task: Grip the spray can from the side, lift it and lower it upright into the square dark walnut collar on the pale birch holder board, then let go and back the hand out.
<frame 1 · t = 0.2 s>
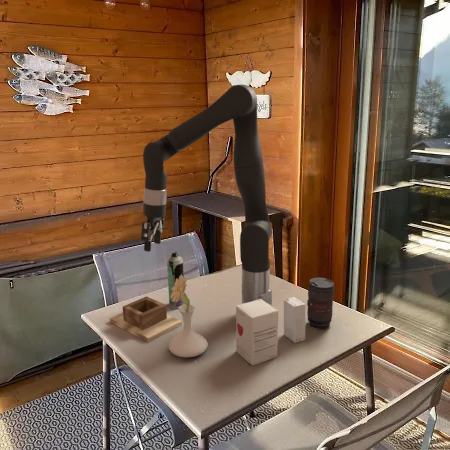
hand: (152, 247, 161), 22 cm above the table, tool pointing down, fingers open, 8 cm apart
can holder: (145, 323, 155), on the table
flower in vase: (188, 352, 138), on the table
skincare box: (293, 337, 145), on the table
spray can: (177, 305, 167), on the table
camera lens: (319, 325, 153), on the table
supplement box: (256, 354, 136), on the table
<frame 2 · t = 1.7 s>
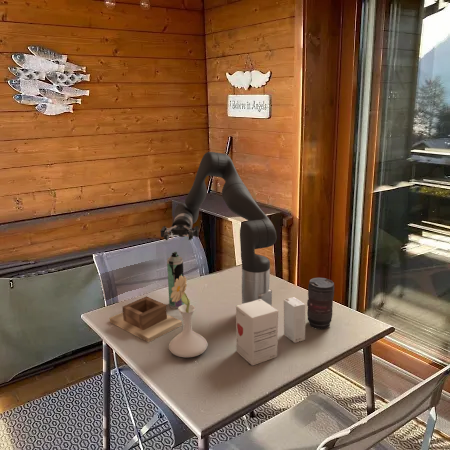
hand: (177, 237, 172), 22 cm above the table, tool horizontal, fingers open, 8 cm apart
nothing on the table moved.
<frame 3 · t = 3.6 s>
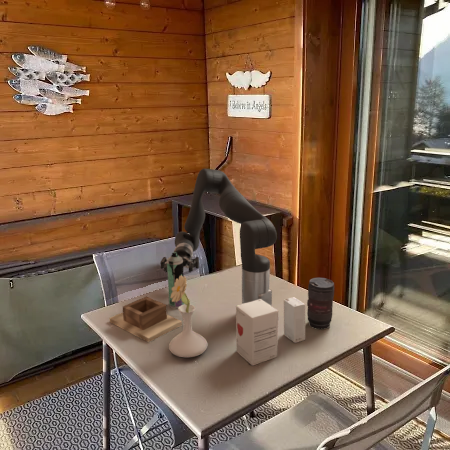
hand: (177, 270, 170), 11 cm above the table, tool horizontal, fingers open, 8 cm apart
nothing on the table moved.
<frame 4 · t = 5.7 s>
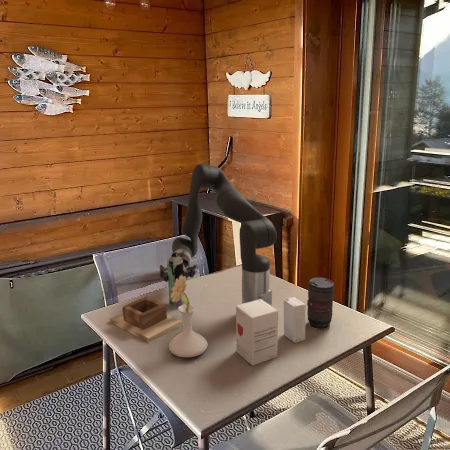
hand: (175, 279, 162), 11 cm above the table, tool horizontal, fingers closed on spray can, 5 cm apart
spray can: (177, 305, 167), on the table, touching gripper
everything else where it was.
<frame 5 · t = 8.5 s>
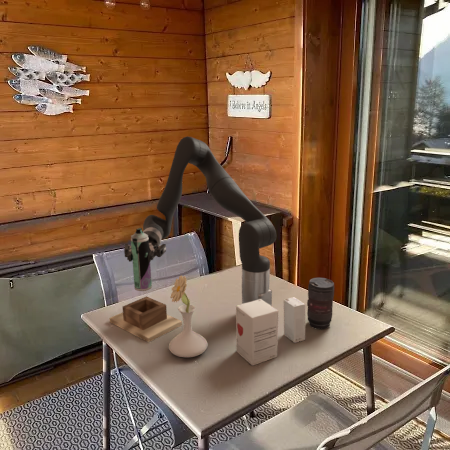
hand: (139, 258, 146), 24 cm above the table, tool horizontal, fingers closed on spray can, 5 cm apart
spray can: (143, 288, 151), point 12 cm above the table, touching gripper
everything else where it was.
when the fingers open (13 cm above the table, at t = 11.5 s): spray can stays where it is, resting on can holder.
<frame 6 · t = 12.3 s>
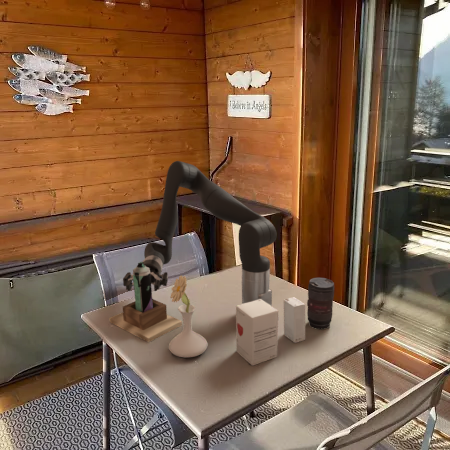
hand: (141, 288, 149), 14 cm above the table, tool horizontal, fingers open, 8 cm apart
spray can: (145, 319, 154), point 1 cm above the table, touching can holder
everything else where it was.
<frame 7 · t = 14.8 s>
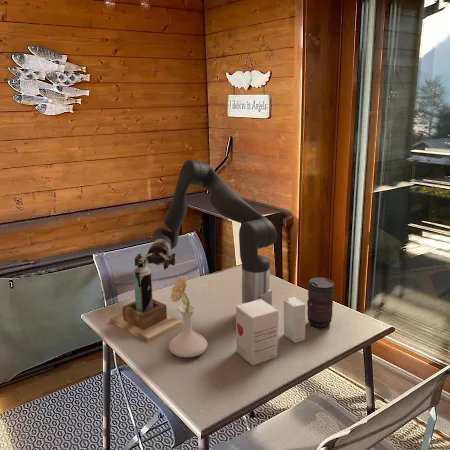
hand: (152, 267, 161), 15 cm above the table, tool horizontal, fingers open, 8 cm apart
nothing on the table moved.
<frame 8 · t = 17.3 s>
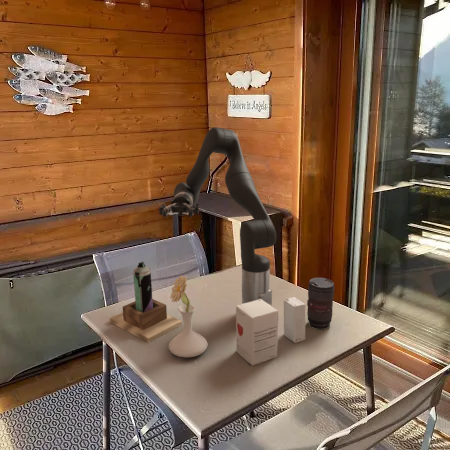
hand: (177, 214, 163), 32 cm above the table, tool horizontal, fingers open, 8 cm apart
nothing on the table moved.
at the end: spray can 0.2 cm off-centre on the can holder, point 1.3 cm above the can holder's base; spray can tilted 0°; the gripper is holding nothing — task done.
